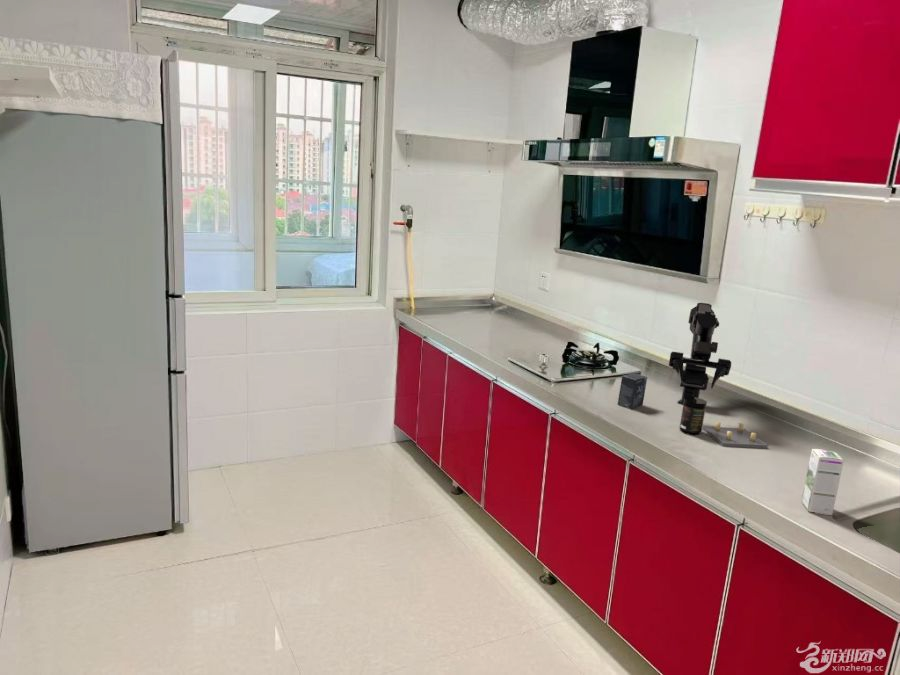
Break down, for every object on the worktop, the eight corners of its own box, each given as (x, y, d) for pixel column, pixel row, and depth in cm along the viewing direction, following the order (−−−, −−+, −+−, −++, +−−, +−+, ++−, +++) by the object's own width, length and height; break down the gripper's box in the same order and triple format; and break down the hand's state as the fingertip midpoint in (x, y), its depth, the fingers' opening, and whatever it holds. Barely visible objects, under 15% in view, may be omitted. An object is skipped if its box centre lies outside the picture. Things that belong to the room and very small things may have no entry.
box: (631, 409, 234) (636, 379, 232) (617, 404, 238) (621, 375, 236) (643, 405, 240) (647, 376, 237) (628, 401, 244) (633, 372, 241)
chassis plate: (702, 429, 221) (704, 418, 220) (744, 431, 222) (746, 421, 221) (722, 446, 207) (724, 435, 206) (767, 448, 208) (769, 437, 208)
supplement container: (706, 434, 216) (711, 402, 214) (691, 436, 213) (696, 404, 210) (689, 426, 222) (694, 395, 220) (674, 429, 218) (679, 397, 216)
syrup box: (832, 516, 166) (846, 459, 163) (806, 512, 167) (819, 456, 164) (824, 505, 172) (837, 451, 169) (799, 501, 173) (811, 447, 169)
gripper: (675, 327, 225) (668, 367, 217) (736, 335, 220) (732, 377, 212) (671, 345, 234) (665, 385, 226) (730, 354, 229) (726, 395, 221)
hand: (696, 385), depth 221 cm, fingers open, 9 cm apart
